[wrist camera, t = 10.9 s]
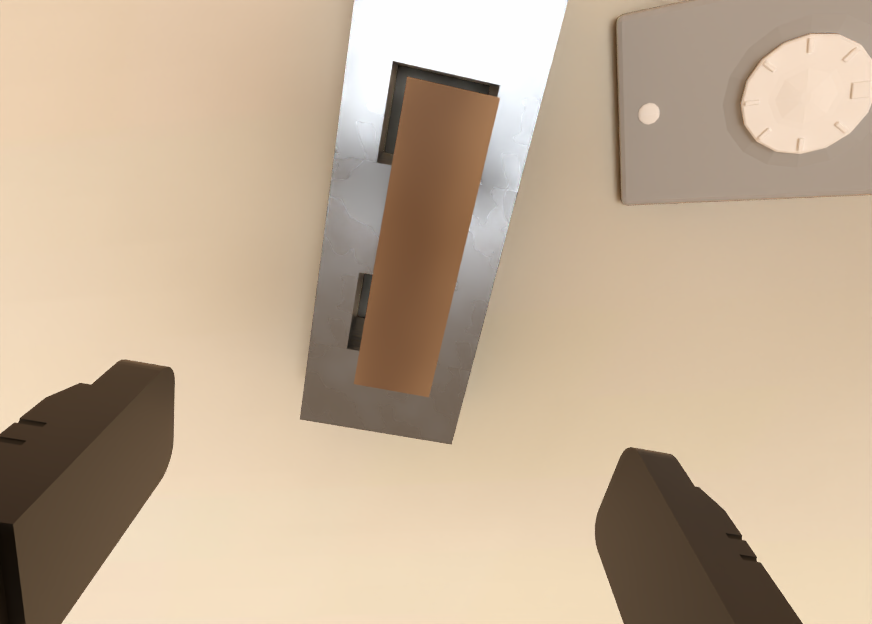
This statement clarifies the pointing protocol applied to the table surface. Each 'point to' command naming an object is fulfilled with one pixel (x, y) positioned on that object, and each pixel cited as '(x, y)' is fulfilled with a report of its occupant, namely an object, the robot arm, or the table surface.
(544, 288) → the table surface
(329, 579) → the table surface
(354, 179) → the grey slotted holder
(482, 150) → the brown u-shaped block
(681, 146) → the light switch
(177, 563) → the table surface
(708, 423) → the table surface
